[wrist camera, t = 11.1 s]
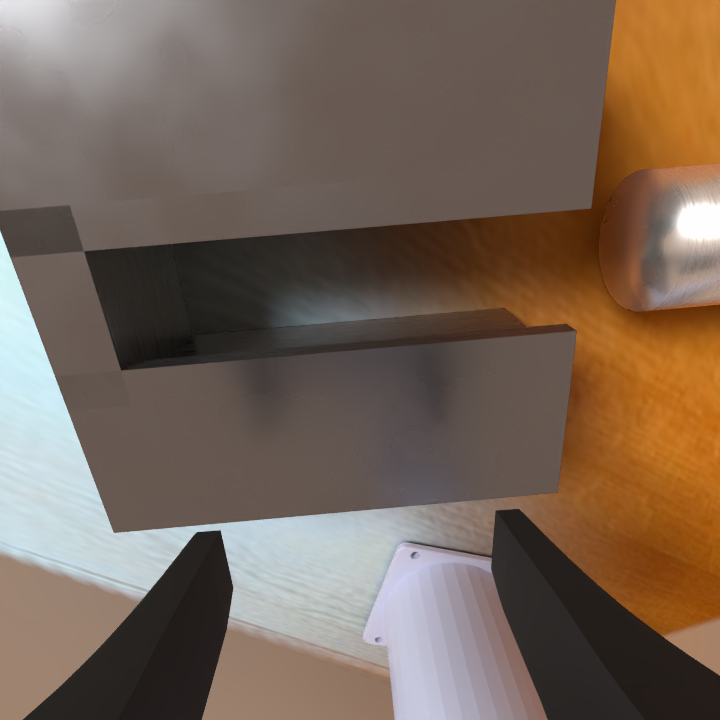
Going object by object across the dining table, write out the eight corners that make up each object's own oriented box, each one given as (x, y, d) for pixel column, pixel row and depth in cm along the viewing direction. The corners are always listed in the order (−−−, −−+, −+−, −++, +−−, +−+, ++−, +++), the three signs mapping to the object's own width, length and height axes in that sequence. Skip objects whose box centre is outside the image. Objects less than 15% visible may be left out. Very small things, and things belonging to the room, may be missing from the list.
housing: (174, 434, 22) (113, 532, 16) (66, 45, 16) (-97, -27, 10) (499, 405, 22) (557, 492, 16) (519, 9, 16) (625, -83, 10)
